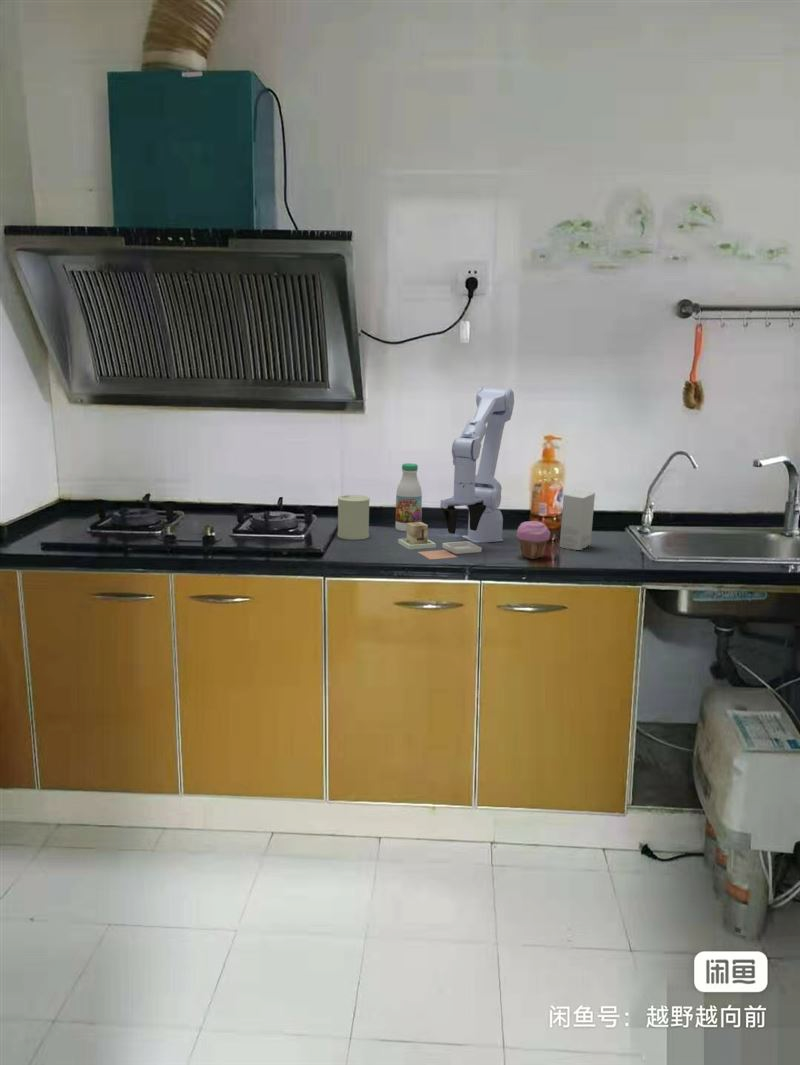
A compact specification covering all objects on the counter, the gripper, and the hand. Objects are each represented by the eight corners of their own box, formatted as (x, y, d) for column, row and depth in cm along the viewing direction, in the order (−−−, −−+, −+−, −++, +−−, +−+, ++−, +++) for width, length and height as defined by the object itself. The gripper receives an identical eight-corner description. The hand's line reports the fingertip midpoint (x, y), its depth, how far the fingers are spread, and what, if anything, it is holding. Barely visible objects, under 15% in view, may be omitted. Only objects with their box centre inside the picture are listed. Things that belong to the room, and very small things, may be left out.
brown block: (420, 542, 243) (421, 522, 242) (427, 546, 239) (428, 525, 238) (406, 543, 242) (406, 522, 240) (412, 547, 238) (413, 526, 236)
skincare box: (571, 542, 250) (574, 489, 246) (592, 546, 246) (596, 492, 243) (558, 548, 243) (562, 493, 240) (580, 552, 239) (584, 496, 236)
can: (347, 532, 256) (348, 492, 254) (374, 536, 252) (375, 495, 249) (331, 538, 248) (331, 497, 246) (359, 542, 244) (359, 500, 241)
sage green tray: (423, 542, 246) (424, 537, 246) (435, 548, 239) (435, 543, 238) (397, 544, 243) (398, 539, 242) (409, 550, 236) (409, 545, 235)
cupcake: (532, 563, 226) (534, 525, 224) (508, 556, 233) (510, 519, 231) (555, 558, 232) (557, 521, 230) (531, 551, 238) (533, 516, 236)
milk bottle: (394, 527, 264) (395, 462, 260) (419, 527, 265) (421, 462, 261) (396, 532, 257) (398, 466, 252) (422, 532, 258) (424, 466, 253)
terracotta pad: (444, 551, 236) (444, 549, 236) (457, 558, 229) (457, 556, 229) (417, 553, 233) (417, 551, 233) (430, 561, 226) (430, 559, 226)
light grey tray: (468, 546, 243) (468, 541, 242) (481, 553, 235) (481, 547, 235) (442, 548, 239) (442, 543, 239) (455, 555, 232) (455, 549, 232)
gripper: (475, 478, 240) (473, 525, 243) (434, 482, 232) (432, 531, 235) (492, 482, 235) (490, 530, 238) (450, 486, 227) (448, 536, 230)
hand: (462, 531), depth 236 cm, fingers open, 7 cm apart
